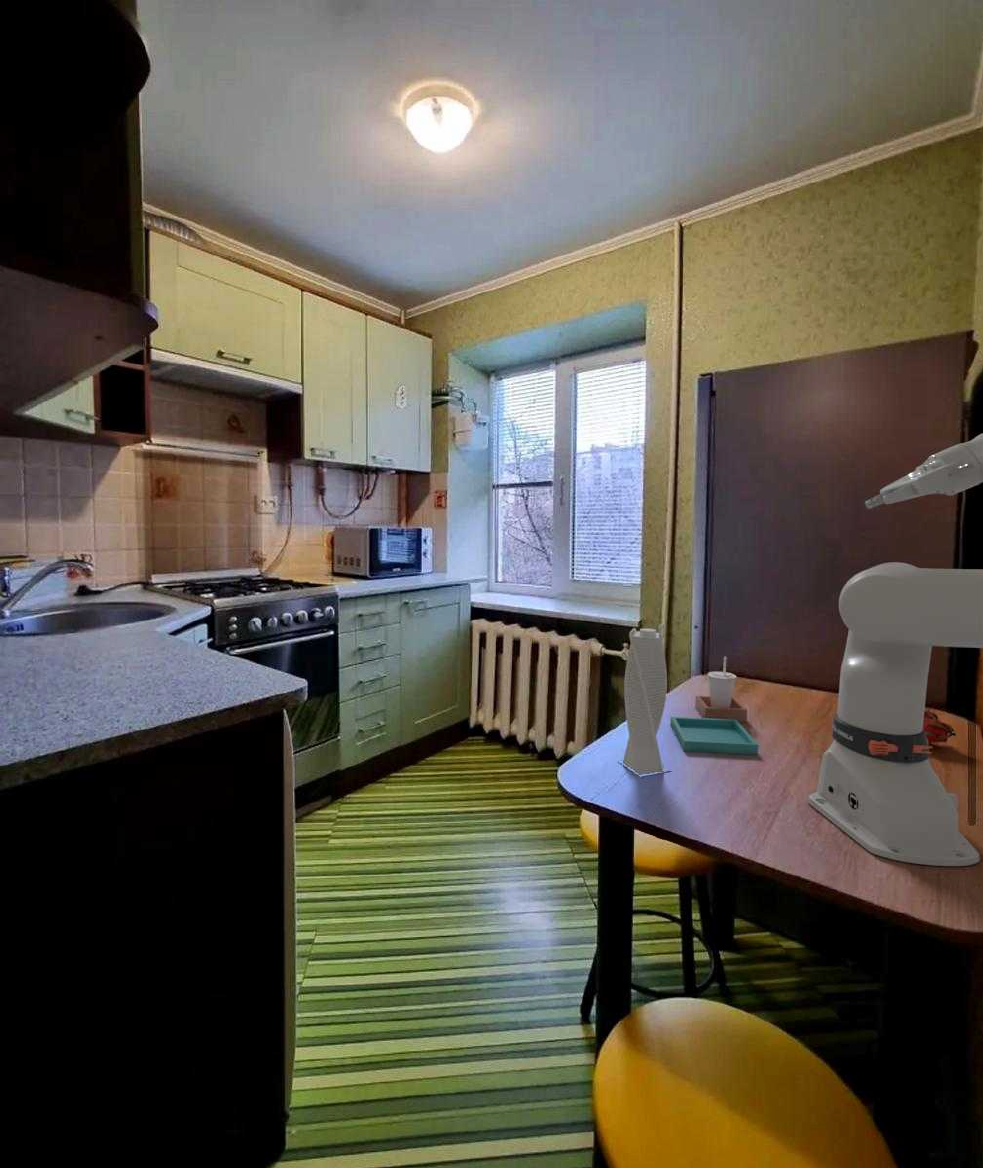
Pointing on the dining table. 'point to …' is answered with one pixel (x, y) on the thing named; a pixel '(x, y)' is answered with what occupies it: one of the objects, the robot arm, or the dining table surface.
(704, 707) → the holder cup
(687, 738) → the tray
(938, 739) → the dragon fruit
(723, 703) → the smoothie
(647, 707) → the skyscraper
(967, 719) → the dining table surface
